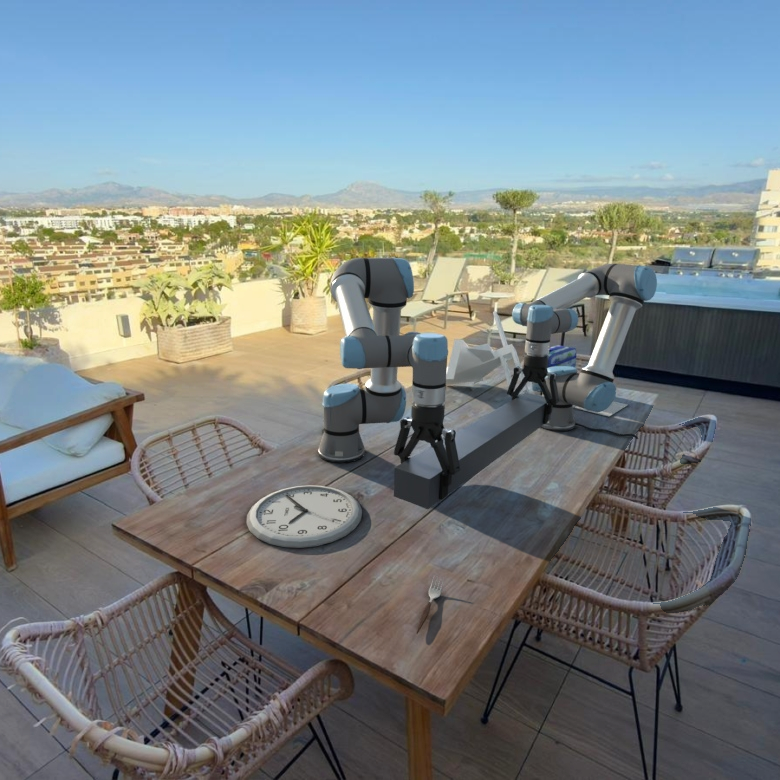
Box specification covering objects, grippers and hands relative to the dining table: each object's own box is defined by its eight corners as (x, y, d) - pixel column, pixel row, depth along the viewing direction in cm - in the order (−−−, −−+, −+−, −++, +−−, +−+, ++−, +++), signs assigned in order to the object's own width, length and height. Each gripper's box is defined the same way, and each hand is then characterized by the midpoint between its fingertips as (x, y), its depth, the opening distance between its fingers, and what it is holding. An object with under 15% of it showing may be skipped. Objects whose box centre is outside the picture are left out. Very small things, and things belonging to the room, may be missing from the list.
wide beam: (523, 413, 182) (525, 392, 179) (550, 419, 176) (553, 398, 174) (393, 496, 123) (394, 467, 121) (428, 509, 118) (429, 479, 116)
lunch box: (548, 398, 236) (553, 353, 229) (527, 393, 243) (531, 349, 237) (575, 387, 253) (581, 344, 247) (555, 382, 260) (560, 341, 254)
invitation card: (608, 416, 214) (573, 407, 224) (608, 416, 214) (573, 408, 224) (628, 404, 229) (594, 396, 238) (628, 405, 229) (594, 397, 238)
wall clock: (364, 539, 124) (235, 543, 122) (364, 545, 125) (236, 550, 122) (360, 481, 153) (256, 483, 150) (360, 486, 153) (256, 488, 151)
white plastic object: (461, 429, 252) (437, 405, 227) (444, 352, 274) (420, 323, 250) (535, 404, 240) (518, 377, 215) (510, 326, 262) (492, 293, 237)
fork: (410, 633, 98) (410, 625, 97) (432, 582, 112) (433, 574, 112) (423, 637, 97) (423, 628, 96) (444, 585, 111) (445, 577, 111)
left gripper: (379, 396, 122) (378, 482, 129) (463, 418, 109) (457, 512, 116) (398, 388, 128) (396, 471, 134) (480, 408, 115) (473, 499, 121)
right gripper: (499, 350, 171) (494, 414, 178) (566, 361, 158) (559, 430, 165) (509, 346, 177) (504, 409, 184) (575, 357, 164) (567, 423, 170)
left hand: (424, 490), depth 125 cm, fingers closed on wide beam, 10 cm apart
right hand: (530, 419), depth 174 cm, fingers closed on wide beam, 10 cm apart
